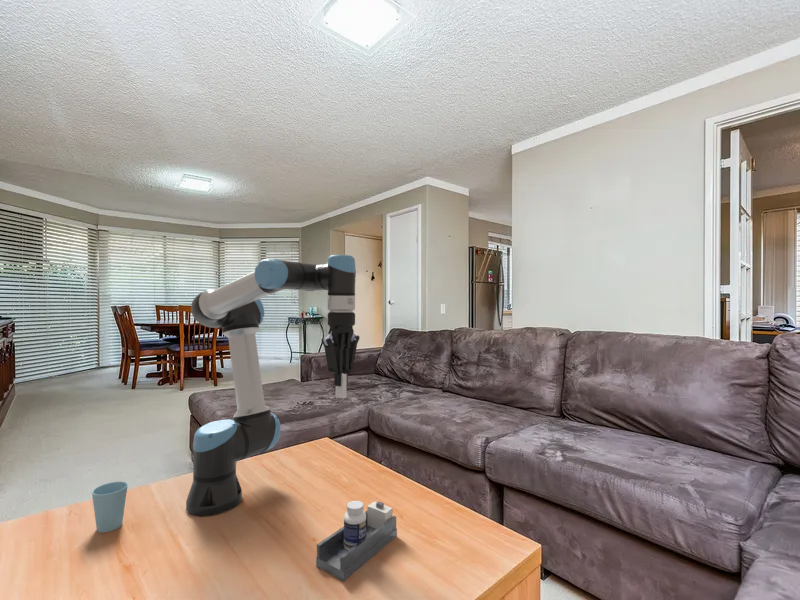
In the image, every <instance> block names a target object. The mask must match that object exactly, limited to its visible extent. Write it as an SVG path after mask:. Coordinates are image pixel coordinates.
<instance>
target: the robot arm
mask: <svg viewBox="0 0 800 600" xmlns="http://www.w3.org/2000/svg"><path fill="white" fill-rule="evenodd" d="M356 273H357V268H356V259H355V257H354V256H353V255H347V254H332V255H329V256H328V257H327V262H326V263H319V264H316V263H307V262H297V261H288V260H280V259H279V258H278V259H276V258H271V259H270V258H269V259H267V258H265V259H262V260H260V261H259V262H258V264H257V265H256V266H255V268H254V271H252V272H249V273H248V274H245V275H244V276H241V277H239V278H237V279H235V280H233V281H231V282H229V283H226V284H225V285H222V286H220V287H219V288H209V289H206V290H204V291H202V292H199V294H197V295H196V296H195V297H194V298H193V300H192V303H191V304H190V312H191V315H192V318H194V320H195V321H196V322H197V323H199V324H200V325H202V326H204V327H206V328H213V329H215V328H216V329H217V328H221V330H222V331H221V332H222V335H223V336H225V337H226V338H228V344H229V345H228V346H229V353H230V363H231V368H232V376H233V377H232V378H233V384H234V393H235V399H236V400H235V401H236V408H237V409H236V411H235V413H234V415H233V416H232V417H233V419H221V420H214V421H210V422H208V423H205V424H204V425H202V426H200V427H199V428H198V429H197V430H196V431H195V433H194V436H193V443H192V450H193V451H192V453H193V454H192V456H193V461H192V468H193V469H192V475H193V478H192V483H191V486H190V490H189V493H188V496H187V498H186V502H185V503H186V504H185V505H186V506H185V507H186V508H185V510H186V512H187V513H188V514H190V515H192V516H197V517H211V516H215V515H216V516H217V515H219V514H220V515H221V514H223V513H226V512H229V511H231V510H232V509H234V508H236V507H237V506H238V505H239V504H240V503H241V502H242V499H243V490H242V489H243V488H242V487H241V484H240V481H239V478H238V476H237V463H238V461H242V460H245V459H248V458H251V457H252V456H255V455H258V454H262V453H265V452H267V451H268V450H271V449H273V448H274V447H276V445H277V442H278V441H279V440H280V437H281V422H280V419H279V418H278V416H277V415H276V414H275V413H273V412H271V407H269V406H268V405H266V404H265V403H266V402H265V398H264V389H263V383H262V382H263V381H262V374H261V368H260V361H259V352H258V346H257V345H258V343H257V339H256V338H257V337H256V334H257V332H258V331H259V330H260V324H261V325H262V322H263V321H264V317H265V307H264V305H263V303H262V301H261V299H263V298H266V297H267V296H269V295H272V294H275V293H277V292H279V291H282V290H283V291H284V290H293V291H294V290H297V291H298V290H299V291H306V292H314V291H327V310H328V313H327V326H329V330H328V332H327V333H328V335H327V336H326V337H322V338H321V343H322V345H323V347H324V354H325V358H326V359H325V360H326V364H327V369H328V371H327V372H328V373H331V374H334V375H333V376H334V383H333V384H334V386H335V393H334V394H335V398H337V399H345V398H347V385H348V380H349V379H348V375H349V374H351V372H352V371H353V369H354V366H355V359H356V353H357V347H358V342H359V340H360V335H356V334H355V333H354V332H355V331H354V327H353V326H355V324H356V313H355V312H354V311H355V309H356Z"/></svg>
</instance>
